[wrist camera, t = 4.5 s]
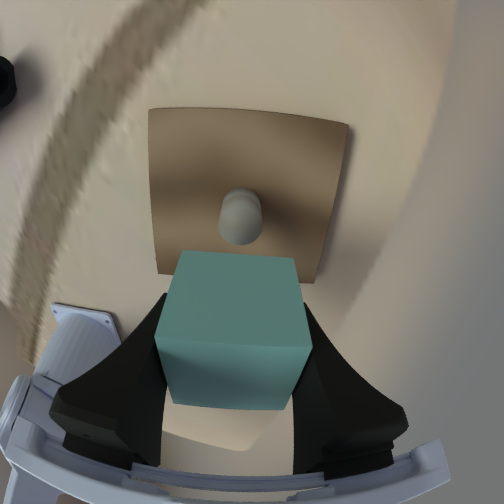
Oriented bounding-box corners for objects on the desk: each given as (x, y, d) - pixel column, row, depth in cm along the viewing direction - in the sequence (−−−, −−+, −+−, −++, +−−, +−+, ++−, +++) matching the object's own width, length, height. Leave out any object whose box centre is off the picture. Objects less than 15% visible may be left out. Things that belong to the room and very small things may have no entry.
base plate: (311, 275, 22) (321, 310, 19) (161, 266, 21) (147, 300, 18) (343, 123, 16) (368, 132, 12) (153, 108, 15) (129, 113, 11)
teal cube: (276, 330, 15) (283, 409, 11) (187, 324, 15) (173, 403, 11) (293, 257, 12) (312, 346, 8) (182, 249, 12) (154, 336, 8)
